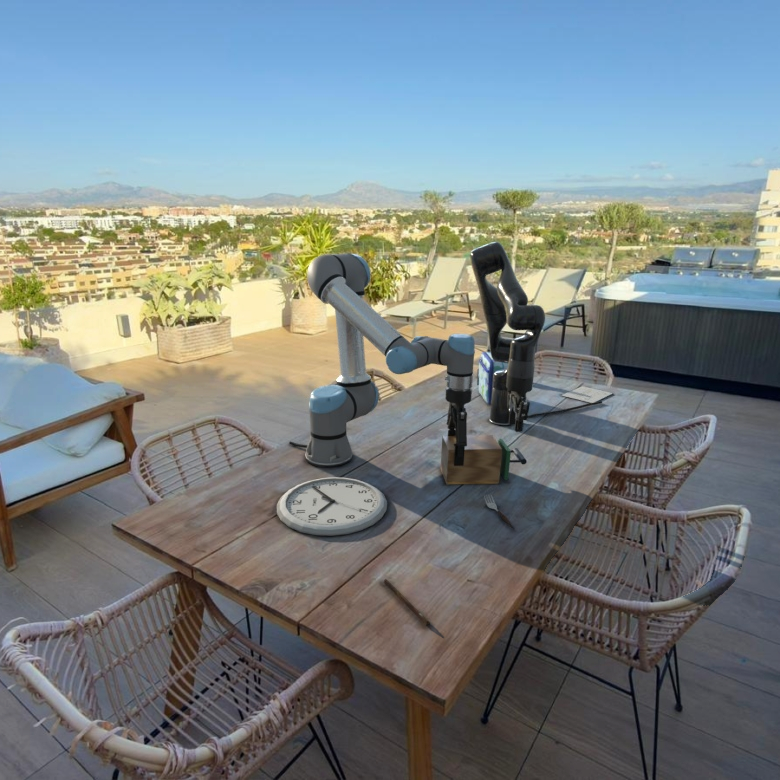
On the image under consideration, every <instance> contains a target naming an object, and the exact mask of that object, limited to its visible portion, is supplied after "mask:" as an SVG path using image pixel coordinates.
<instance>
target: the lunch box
mask: <svg viewBox="0 0 780 780" xmlns="http://www.w3.org/2000/svg"><path fill="white" fill-rule="evenodd" d="M506 368H508V363H502V362H497V361H494V360H493V359H492V356H491V352H487V351H482V352H481V354H480V358H479V360H478V369H479V377H478V378H477V381H476V384H477V385H476V386H478V393H479V395H480V396H481V397H482V399H483V400H484V402H485V404H487V405H488V406H489V405H490V406H491V398H492V385H493V374H494V372H495V371H497V370H502V369H506Z"/></svg>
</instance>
